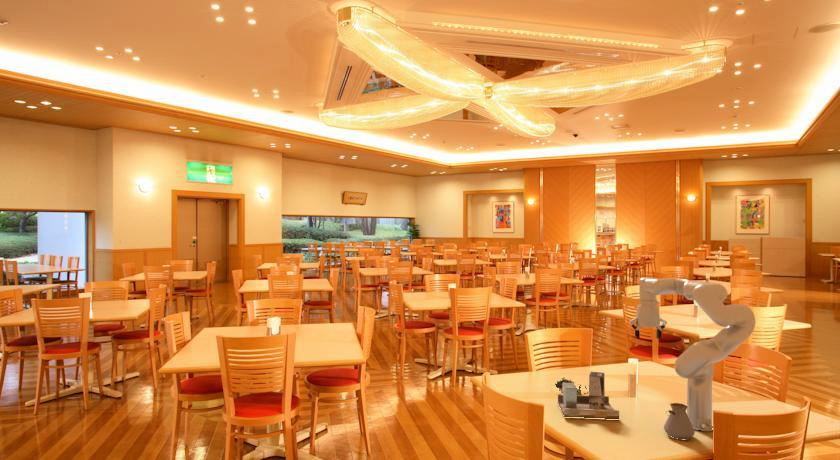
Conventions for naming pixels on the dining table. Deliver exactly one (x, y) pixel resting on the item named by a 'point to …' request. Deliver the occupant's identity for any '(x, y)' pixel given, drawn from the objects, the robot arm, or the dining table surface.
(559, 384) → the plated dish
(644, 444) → the dining table surface
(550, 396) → the dining table surface
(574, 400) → the tea tin
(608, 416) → the flat grey tray
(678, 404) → the coffee pot
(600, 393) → the coffee box
